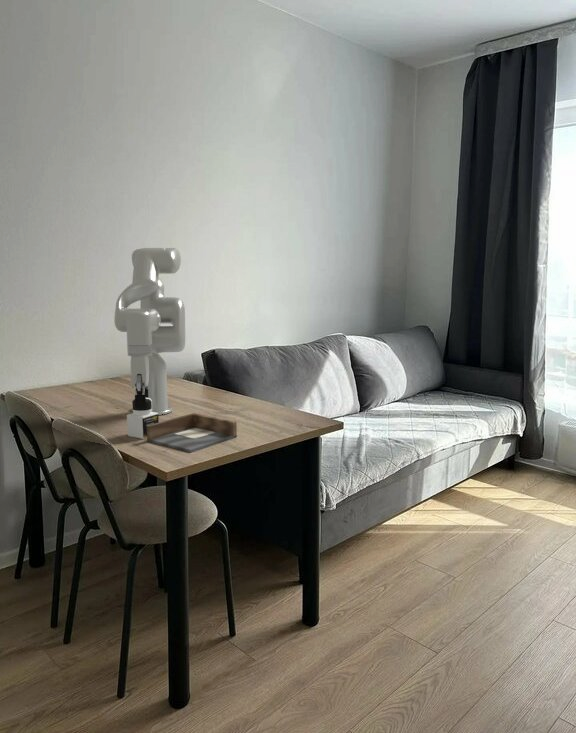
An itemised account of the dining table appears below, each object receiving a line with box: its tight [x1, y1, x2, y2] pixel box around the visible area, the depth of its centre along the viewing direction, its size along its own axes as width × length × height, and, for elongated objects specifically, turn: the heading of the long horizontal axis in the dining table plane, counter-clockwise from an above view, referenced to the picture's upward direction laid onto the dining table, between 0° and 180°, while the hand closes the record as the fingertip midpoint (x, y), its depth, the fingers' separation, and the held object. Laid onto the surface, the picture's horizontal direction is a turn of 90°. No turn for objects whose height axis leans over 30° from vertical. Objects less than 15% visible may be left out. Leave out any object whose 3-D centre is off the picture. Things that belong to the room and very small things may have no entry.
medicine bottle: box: [126, 398, 160, 440], centre depth 199 cm, size 7×7×12 cm
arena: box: [146, 412, 238, 453], centre depth 195 cm, size 19×20×5 cm
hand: (142, 404), depth 198 cm, fingers open, 9 cm apart
